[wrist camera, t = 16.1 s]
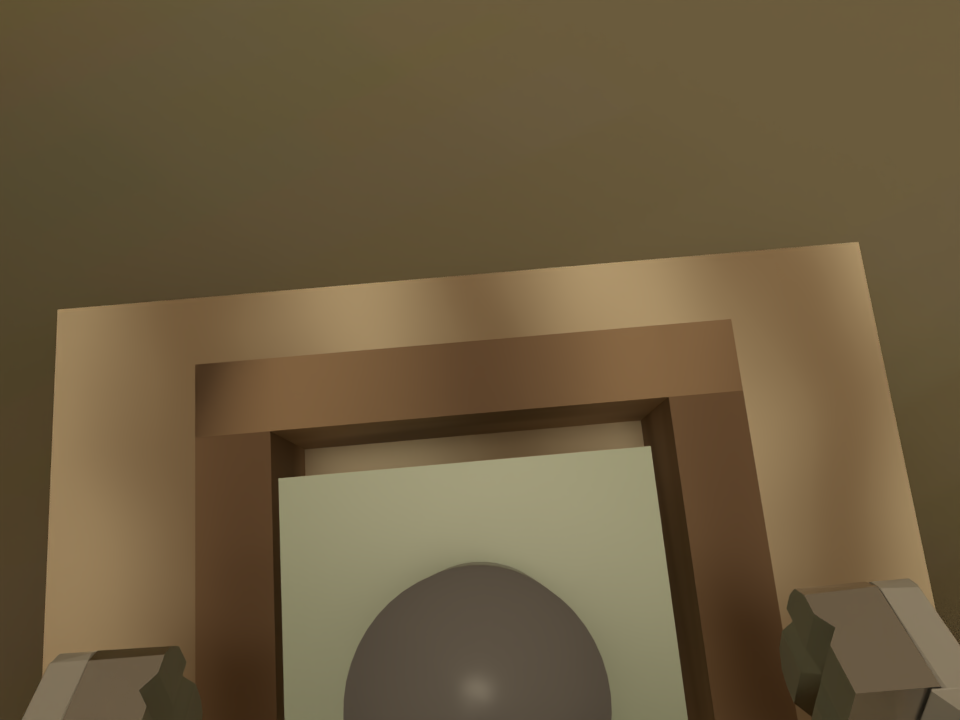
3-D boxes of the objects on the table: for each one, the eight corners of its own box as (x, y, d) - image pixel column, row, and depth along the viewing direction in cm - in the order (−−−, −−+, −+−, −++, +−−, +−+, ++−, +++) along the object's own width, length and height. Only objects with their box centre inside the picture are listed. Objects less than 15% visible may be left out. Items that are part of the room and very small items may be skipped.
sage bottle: (380, 740, 17) (198, 1061, 6) (368, 508, 18) (197, 451, 8) (608, 720, 17) (805, 1004, 6) (582, 489, 18) (711, 407, 8)
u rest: (52, 1040, 17) (-80, 1189, 13) (78, 321, 20) (-19, 267, 17) (983, 954, 17) (1130, 1075, 13) (841, 256, 21) (922, 188, 17)
